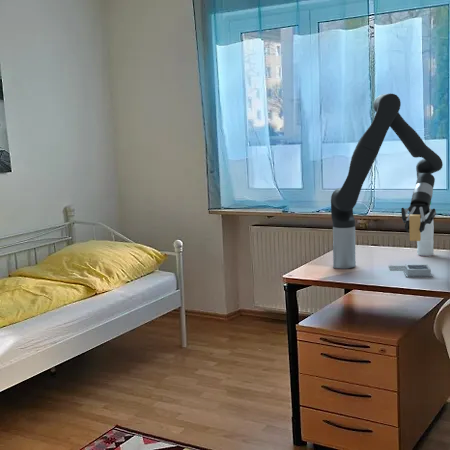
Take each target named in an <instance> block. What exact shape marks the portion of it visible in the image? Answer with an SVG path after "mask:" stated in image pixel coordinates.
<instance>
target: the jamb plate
mask: <svg viewBox="0 0 450 450" xmlns="http://www.w3.org/2000/svg"><path fill="white" fill-rule="evenodd" d="M388 269H389V272H390V271H391V272H392V271H393V272H396V271H400V272H403V270H405V265H388Z"/></svg>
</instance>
